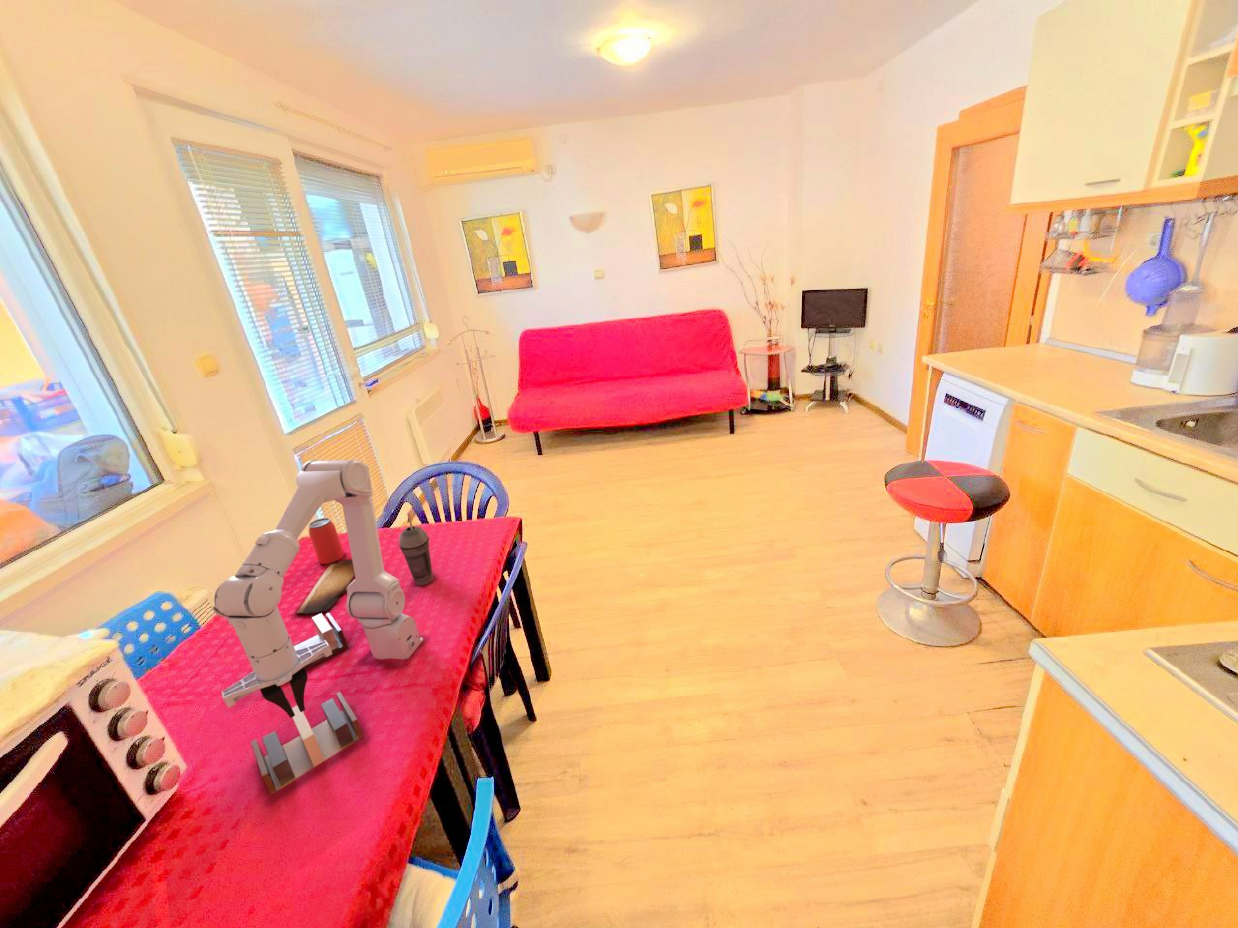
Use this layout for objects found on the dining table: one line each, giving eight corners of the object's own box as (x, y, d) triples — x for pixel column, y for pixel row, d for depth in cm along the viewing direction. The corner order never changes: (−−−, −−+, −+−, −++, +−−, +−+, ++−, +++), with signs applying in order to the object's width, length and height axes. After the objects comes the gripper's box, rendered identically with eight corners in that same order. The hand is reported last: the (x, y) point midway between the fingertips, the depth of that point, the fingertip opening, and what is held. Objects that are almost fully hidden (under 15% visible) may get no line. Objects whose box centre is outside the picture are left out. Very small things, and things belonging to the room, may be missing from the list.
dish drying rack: (335, 629, 116) (327, 608, 114) (348, 647, 110) (340, 625, 108) (265, 664, 107) (255, 641, 105) (275, 685, 101) (265, 662, 99)
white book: (309, 729, 89) (299, 703, 87) (325, 760, 83) (313, 733, 81) (299, 735, 88) (288, 709, 86) (314, 767, 82) (302, 740, 80)
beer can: (322, 555, 149) (309, 519, 144) (346, 550, 151) (334, 515, 146) (316, 567, 143) (303, 530, 139) (342, 561, 145) (329, 525, 140)
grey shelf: (348, 711, 93) (340, 691, 92) (365, 739, 87) (357, 718, 85) (260, 763, 85) (250, 741, 83) (272, 799, 78) (262, 776, 77)
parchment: (332, 562, 144) (331, 560, 144) (367, 556, 145) (366, 554, 145) (292, 619, 121) (291, 616, 121) (335, 611, 122) (333, 609, 122)
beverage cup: (429, 569, 137) (412, 503, 130) (444, 577, 133) (427, 510, 125) (404, 582, 132) (385, 514, 125) (418, 591, 128) (399, 522, 120)
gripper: (214, 685, 70) (249, 755, 75) (326, 631, 79) (350, 696, 84) (207, 661, 75) (240, 728, 80) (314, 613, 84) (337, 675, 89)
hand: (296, 710), depth 82 cm, fingers closed
